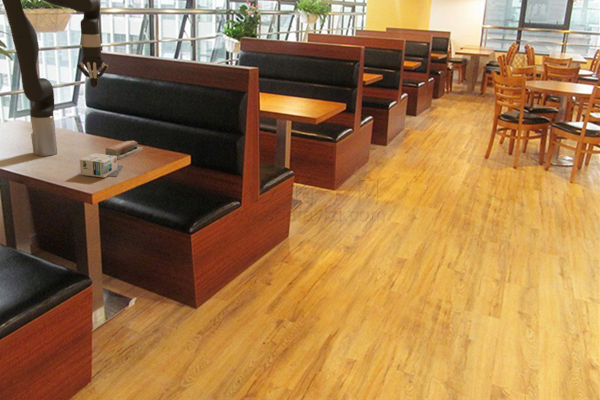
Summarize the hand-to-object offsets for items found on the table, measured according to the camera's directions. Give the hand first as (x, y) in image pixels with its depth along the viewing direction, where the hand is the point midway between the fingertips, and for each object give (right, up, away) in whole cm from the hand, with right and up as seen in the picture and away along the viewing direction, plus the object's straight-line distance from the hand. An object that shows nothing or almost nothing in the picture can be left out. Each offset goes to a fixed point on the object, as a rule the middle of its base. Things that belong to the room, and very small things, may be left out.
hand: (94, 86), depth 240 cm
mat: (+7, -36, -6) cm, 37 cm away
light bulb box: (0, -33, -9) cm, 35 cm away
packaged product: (+6, -27, +20) cm, 34 cm away
